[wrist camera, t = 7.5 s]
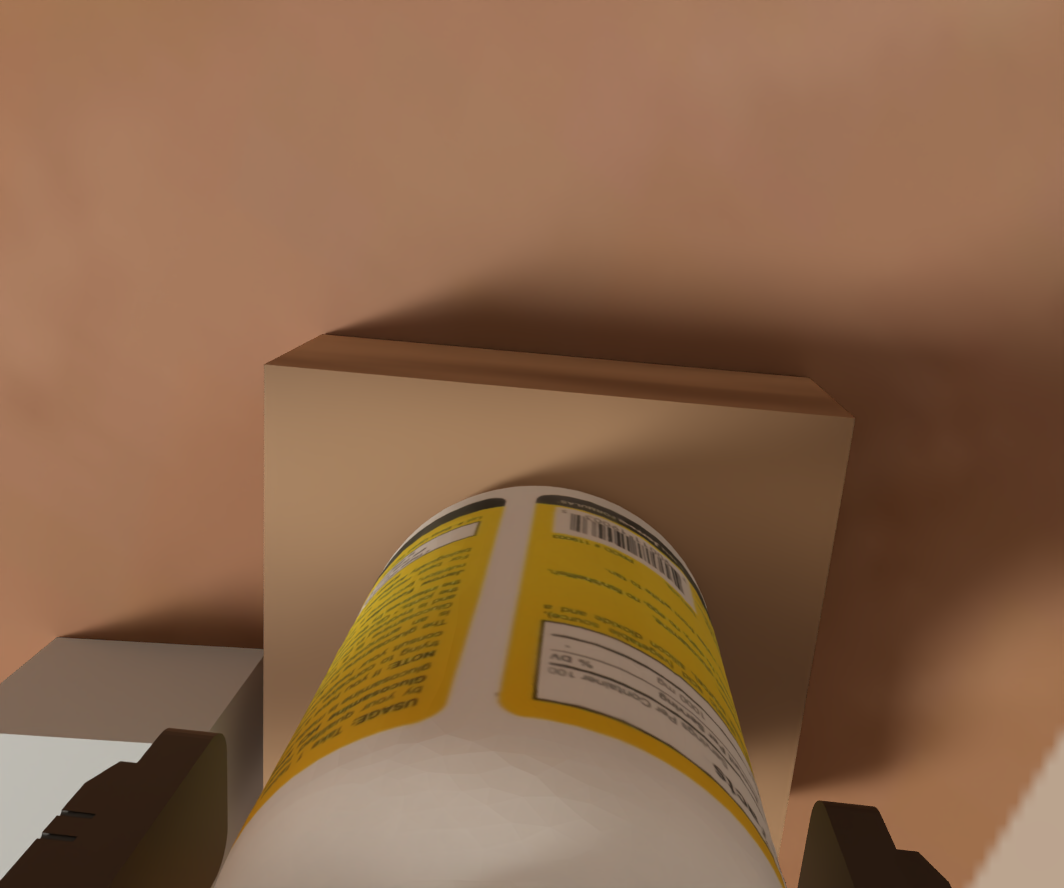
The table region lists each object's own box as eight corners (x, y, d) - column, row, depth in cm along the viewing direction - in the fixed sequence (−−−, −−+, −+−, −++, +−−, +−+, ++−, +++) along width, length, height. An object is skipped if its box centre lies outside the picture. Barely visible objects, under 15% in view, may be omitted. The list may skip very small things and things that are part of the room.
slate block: (60, 634, 22) (-56, 730, 18) (269, 647, 22) (197, 746, 18) (81, 818, 23) (-22, 943, 19) (279, 832, 23) (214, 963, 19)
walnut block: (322, 334, 19) (263, 364, 16) (809, 377, 19) (855, 418, 16) (314, 756, 22) (263, 858, 19) (741, 803, 22) (768, 916, 18)
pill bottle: (392, 791, 18) (98, 1656, 7) (351, 486, 16) (-100, 1025, 6) (718, 782, 18) (905, 1701, 7) (707, 465, 16) (930, 1019, 5)
